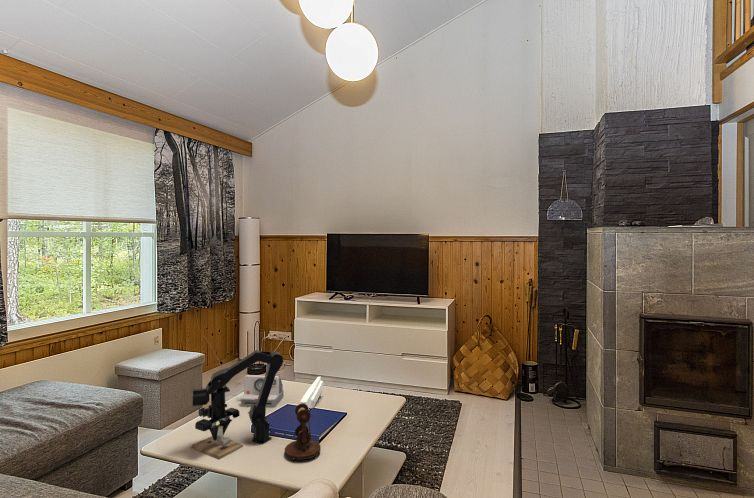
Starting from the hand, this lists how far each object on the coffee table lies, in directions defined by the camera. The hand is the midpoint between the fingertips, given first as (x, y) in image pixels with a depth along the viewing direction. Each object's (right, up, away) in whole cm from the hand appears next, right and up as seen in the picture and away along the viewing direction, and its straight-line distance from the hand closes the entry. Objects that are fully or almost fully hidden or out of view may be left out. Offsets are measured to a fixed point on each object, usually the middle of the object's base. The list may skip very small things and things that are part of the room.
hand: (218, 438), depth 182 cm
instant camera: (+5, -4, +54) cm, 54 cm away
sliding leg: (0, -3, 0) cm, 3 cm away
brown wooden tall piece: (+37, -5, -5) cm, 38 cm away
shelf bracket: (+33, -4, +49) cm, 59 cm away
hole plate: (-1, -4, 0) cm, 4 cm away
